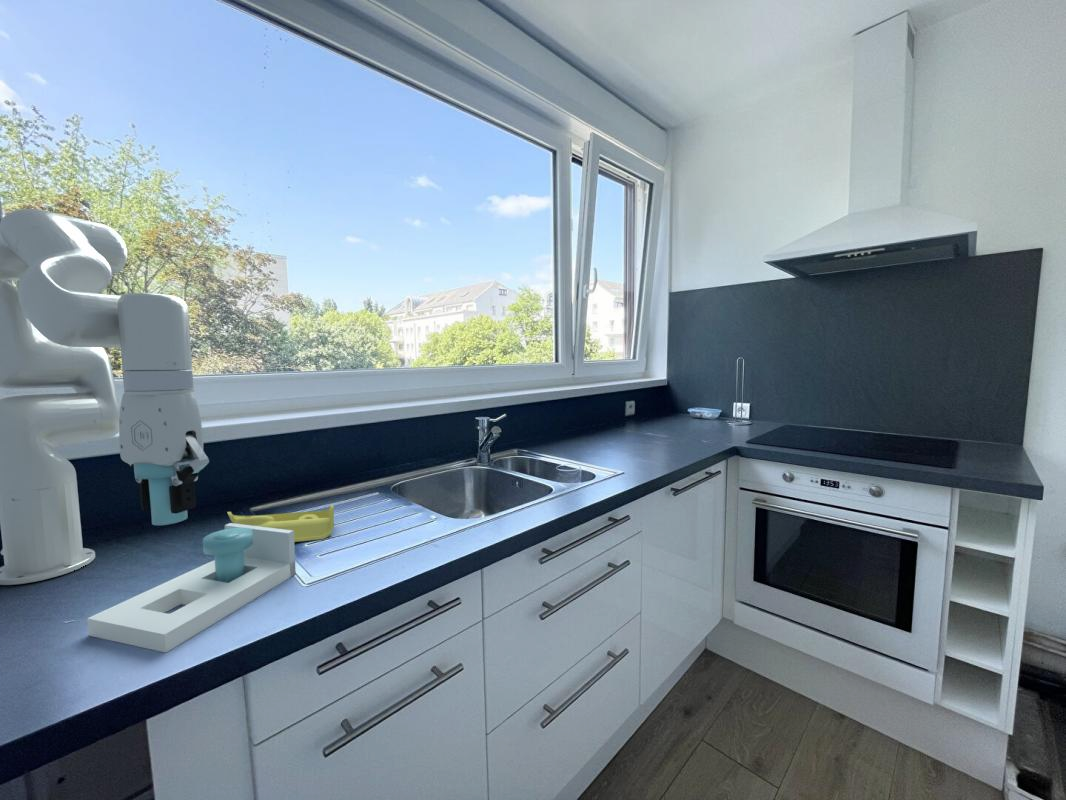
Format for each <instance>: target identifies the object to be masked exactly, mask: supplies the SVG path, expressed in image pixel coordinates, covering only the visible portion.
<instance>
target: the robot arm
mask: <svg viewBox="0 0 1066 800" xmlns="http://www.w3.org/2000/svg"><path fill="white" fill-rule="evenodd" d="M127 259H128V249H127V245H126V243H125V241H124V239H123V237H122V236H121V235H120V234H119V233H118V232H117V231H116V230H115V229H113V228H112V227H110V226H108V225H107V224H104V223H101V222H95V221H92V220H87V219H82V218H78V217H74V216H70V215H65V214H61V213H57V212H52V211H48V210H47V211H46V210H43V209H36V208H35V209H32V208H23V209H16V210H13V211H10V212H8V213H6V214H5V215H4V216H3V217H2V218H1V221H0V388H4V389H22V390H23V389H26V390H27V389H46V388H47V389H50V388H51V389H53V388H72V389H73V390H74V391H75V392H69V393H43V394H42V393H40V394H38V393H37V394H24V395H13V396H8V397H3V398H0V532H1V533H0V534H1V542H2V548H1V550H0V555H1V556H3V562H4V565H2V566H0V586H12V585H13V586H15V585H23V584H29V583H36V582H40V581H45V580H49V579H52V578H57V577H59V576H63V575H66V574H69V573H72V572H74V570H75V571H77V570H79V569H82V568H83V566H84V567H86V566H87V565H89V564H90V563H92V562H93V561H94V560H95V559H96V551H95V550H94V549H92V548H87V547H86V548H85V547H83V536H82V535H83V534H82V524H81V513H80V502H79V493H78V492H79V491H78V479H77V472H76V468H75V467H74V464H72V463H71V462H70V461H69V459H67V458H66V457H64V456H62V455H61V454H59V453H58V452H57V451H56V450H55V448H57V447H63V446H68V445H75V444H77V445H78V444H83V443H85V444H86V443H91V442H98V441H105V440H109V439H111V438H113V437H115V436H116V435H119V436H118V437H119V439H118V440H119V441H118V442H119V455H120V459H121V460H122V461H123V462H124V463H126V464H128V465H129V466H130V469H131V470H132V472H134V463H144V464H155V465H158V466H171V465H172V467H173V477H171V479H172V483H173V485H172V486H169V493H170V507H171V513H174V514H177V513H180V512H183V511H186V510H187V511H188V510H192V509H195V508H196V507H197V496H196V484H195V482H197V481H198V479H199V475H200V473H202V470H204V468H205V467H206V466H207V465H208V464H209V463H210V458H209V457H208V456H207V454H206V453H205V451H204V434H203V428H202V427H203V426H202V418H201V413H200V409H199V405H198V401H197V397H196V394H195V393H196V392H195V391H194V389H195V387H194V374H193V362H192V361H193V360H192V359H193V358H192V348H191V334H190V333H191V331H190V320H189V319H190V317H189V307H188V305H187V303H186V301H185V300H184V299H182V298H181V297H179V296H178V297H177V296H175V295H170V294H166V293H165V294H164V293H163V294H162V293H154V292H153V293H152V292H129V293H124V294H122V295H117V294H108V293H101V292H102V291H104V290H105V289H106V288H107V287H108V286H109V284H110V282H111V280H112V276H114V275H116V274H117V273H120V271H121V270H122V269H123V268H124V266H125V265H126V263H127ZM10 281H17V282H18V284H17V286H15V285H13V284H12V283H11V282H10ZM105 348H108V349H109V348H114V349H115V348H118V349H120V353H121V366H122V367H121V368H122V380H123V392H124V393H122V396H121V401H120V398H119V394H118V391H117V386H116V381H115V377H114V373H113V368H112V363H111V361H110V357H109V355H108V353H107V352H106V350H105ZM182 457H183V458H185V459H190V460H187V461H186V462H184V463H183V462H176V461H180V460H181V459H182ZM187 464H190V465H189V466H188V467H185V468H184V469H183V471H182V472H181V473H180V470H179V466H182V465H187ZM134 478H135V477H134ZM134 480H135V481H136V482H137V483H138V487H139V498H140V499H139V501H140V509H141V510H142V511H151V504H150V492H149V480H148V479H137V478H135V479H134ZM85 565H86V566H85ZM81 567H82V568H81Z"/></svg>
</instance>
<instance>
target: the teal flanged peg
mask: <svg viewBox="0 0 1066 800" xmlns="http://www.w3.org/2000/svg"><path fill="white" fill-rule="evenodd" d="M252 544H253V534H252V529H250V528H243V527H240V528H230V529H225V528H224V529H220V530H218V531H214V532H211V533H209V534H207V535H206V536H204V537H203V538H202V549H203V550H202V551H203V554H204V555H206V556H211V557H212V556H214V560H215V573H216V581H220V582H226V583H229V582H231V581H233V580H235V579H237V578H239V577H240V576H242V575H244V574H245V568H244V549H246V548H248V547H250V546H251V545H252Z"/></svg>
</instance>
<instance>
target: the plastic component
mask: <svg viewBox="0 0 1066 800" xmlns="http://www.w3.org/2000/svg"><path fill="white" fill-rule="evenodd" d="M334 506H335V505H334V504H330V505H329V508H328V509H325V510H323V509H322V510H314V511H312V510H311V511H302V512H287V513H286V512H285V513H273V514H272V513H270V514H259V515H258V514H257V515H236V514H235V515H234V514H233V513H232V511H226V512H227V515H228V517H229V520H230V521H231V523H234V524H243V525H251V526H259V527H268V528H276V529H284V530H293V531H294V543H299V542H308V541H309V542H310V541H317V540H324V539H326V538H328V537H329V536H331V534H332V532H333V531H334V526H335V525H334V524H335V523H334V522H335V519H334V518H335V516H334V514H335V507H334Z"/></svg>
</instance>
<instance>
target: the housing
mask: <svg viewBox="0 0 1066 800" xmlns="http://www.w3.org/2000/svg"><path fill="white" fill-rule="evenodd" d="M240 527H243V528H250V529H252V534H253V544H252V545H251V546H250V547H248V548H246V549H244V568H245V574H244V575H242V576H240V577H239V578H237V579H235V580H233V581H231V582H229V583H226V582H220V581H216V573H215V559H214V560H212V561H210V562H207V563H205V564H202V565H199V566H198V567H196V568H194V569H192V570H191V569H190V571H187V572H185V573H183V574H181V575H179V576H176V577H174V578H172V579H170V580H168V581H167V580H166V581H165V582H164V583H161V584H159V585H157V586H155V587H152V588H151V589H148V590H146V591H144V592H142V593H140V594H137V595H135V596H133V597H131V598H128V599H126V600H124V601H122V602H120V603H118V604H116V605H114V606H111V607H108V608H107V609H105V610H102V611H100V612H98V613H95V614H93V615H92V616H90V617H88V618H86V620H87V630H88V631H87V632H88V636H90V637H94V638H98V639H102V640H107V641H112V642H116V643H121V644H124V645H125V644H126V645H131V646H134V647H139V648H143V649H149V650H153V651H156V652H160V653H165V654H166V653H168V652H170V651H172V650H173V649H175V648H176V647H178V646H180V645H181V644H182V643H185V642H187V641H188V640H189V639H192V638H193V637H195V636H196V635H198V634H199V633H201V632H202V631H204V630H206V629H208V628H209V627H211V626H213V625H214V624H216V623H218V622H219V621H221V620H222V619H224V618H226V617H227V616H229V615H231V614H232V613H234V612H236V611H237V610H239V609H241V608H242V607H244V606H246V605H247V604H248V603H250V602H252V601H254V600H255V599H257V598H259V597H260V596H262V595H263V594H265V593H267V592H269V591H270V590H273V588H276V587H278V585H280V584H282V583H283V582H286V581H287V580H288V579H290V578H292V577H293V576H295V575H296V571H297V570H296V550H295V542H294V531H293V530H284V529H276V528H268V527H259V526H251V525H243V524H234V523H233V522H229V523H226V524H224V529H230V528H240ZM180 605H183V606H182V607H180V608H178V609H177V610H175V611H173V612H171V613H167V612H169V611H170V610H172V609H174V608H176V607H179V606H180Z"/></svg>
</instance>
